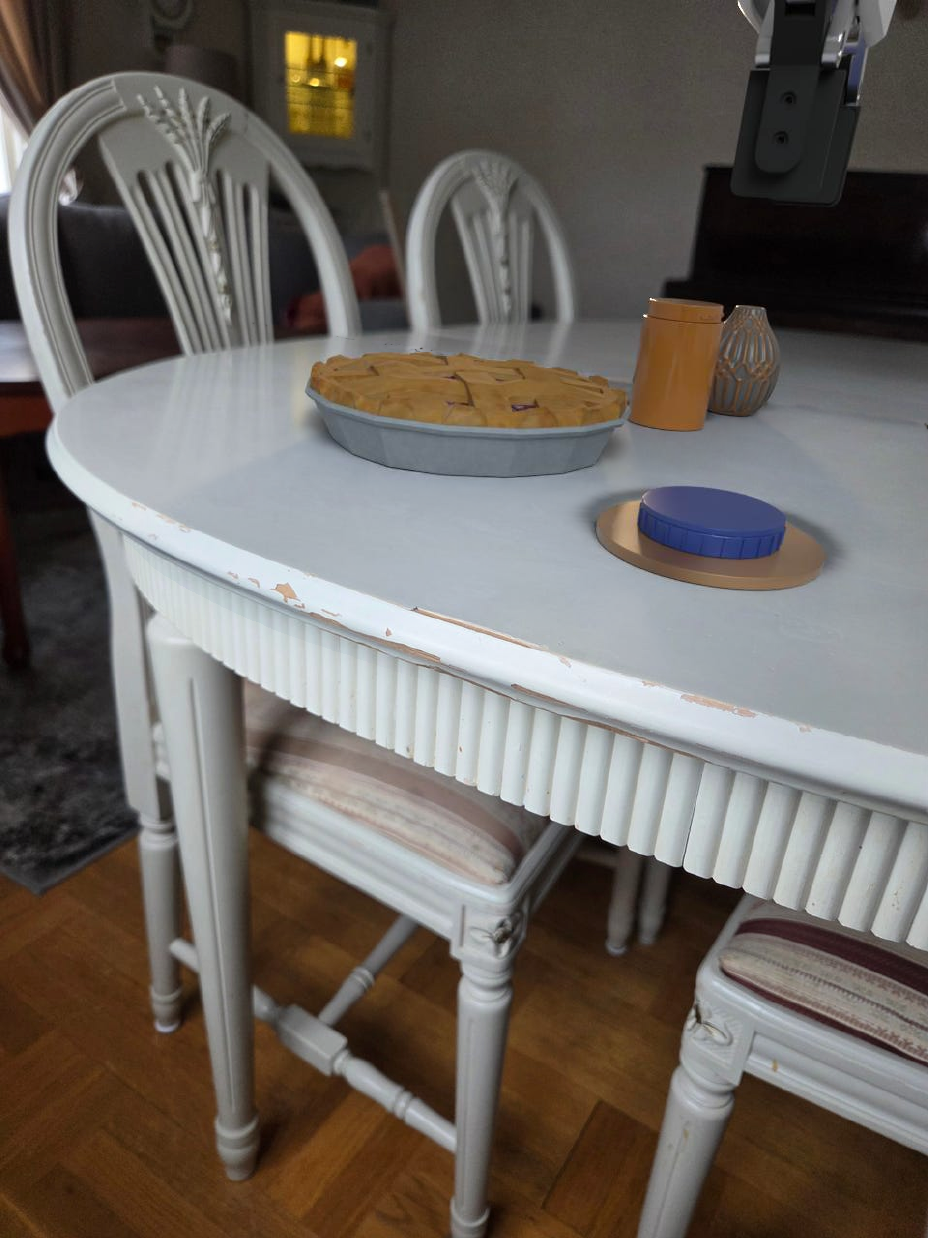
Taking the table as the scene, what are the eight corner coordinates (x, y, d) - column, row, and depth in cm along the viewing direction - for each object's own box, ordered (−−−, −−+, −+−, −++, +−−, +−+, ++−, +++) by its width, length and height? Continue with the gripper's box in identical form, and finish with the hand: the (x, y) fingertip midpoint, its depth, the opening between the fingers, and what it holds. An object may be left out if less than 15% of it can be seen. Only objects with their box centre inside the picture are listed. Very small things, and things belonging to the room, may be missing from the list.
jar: (710, 421, 69) (734, 304, 65) (694, 434, 64) (719, 308, 60) (638, 409, 71) (657, 295, 67) (617, 421, 66) (636, 299, 62)
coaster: (831, 538, 44) (834, 527, 44) (810, 611, 35) (814, 598, 34) (630, 496, 48) (632, 486, 48) (565, 553, 39) (566, 541, 39)
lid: (619, 537, 40) (623, 509, 39) (657, 502, 45) (662, 477, 45) (768, 572, 37) (776, 542, 36) (789, 529, 43) (796, 503, 42)
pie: (682, 483, 51) (698, 402, 49) (328, 489, 45) (328, 395, 43) (551, 406, 70) (559, 344, 68) (288, 402, 64) (287, 334, 61)
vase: (674, 402, 75) (693, 300, 72) (739, 403, 78) (760, 303, 74) (717, 420, 70) (739, 309, 66) (785, 420, 72) (811, 313, 68)
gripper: (814, -239, 36) (734, 203, 43) (750, -545, 22) (648, 188, 29) (1013, -266, 33) (890, 211, 41) (1085, -638, 19) (876, 199, 27)
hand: (788, 201), depth 35 cm, fingers open, 9 cm apart
